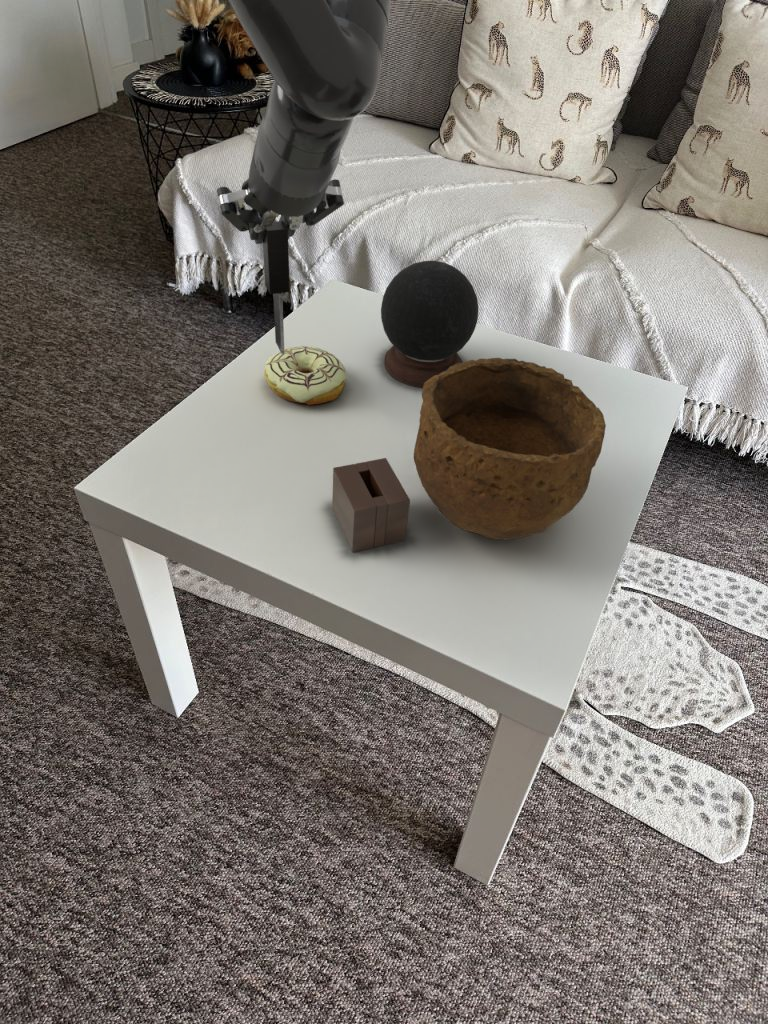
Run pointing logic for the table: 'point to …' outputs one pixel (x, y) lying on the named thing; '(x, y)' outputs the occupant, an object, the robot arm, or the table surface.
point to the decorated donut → (305, 375)
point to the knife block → (370, 504)
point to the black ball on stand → (427, 320)
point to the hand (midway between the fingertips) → (269, 234)
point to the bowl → (506, 446)
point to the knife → (277, 272)
